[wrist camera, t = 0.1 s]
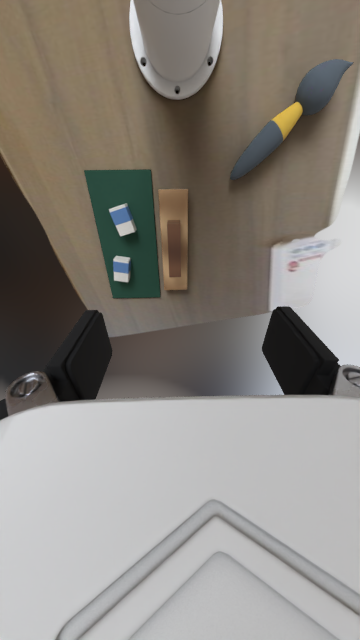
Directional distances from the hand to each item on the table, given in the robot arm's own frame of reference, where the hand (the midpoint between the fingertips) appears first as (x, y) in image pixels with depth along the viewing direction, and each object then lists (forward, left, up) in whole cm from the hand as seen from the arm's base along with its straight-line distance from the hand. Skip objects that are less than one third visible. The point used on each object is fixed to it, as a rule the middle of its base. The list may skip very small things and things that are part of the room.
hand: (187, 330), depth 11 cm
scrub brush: (+4, -1, -37) cm, 37 cm away
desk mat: (+4, -11, -37) cm, 39 cm away
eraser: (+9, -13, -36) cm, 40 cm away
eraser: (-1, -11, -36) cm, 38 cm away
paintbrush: (-14, +17, -37) cm, 43 cm away
